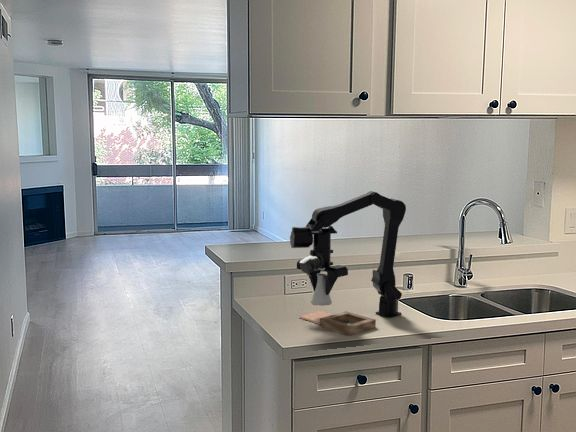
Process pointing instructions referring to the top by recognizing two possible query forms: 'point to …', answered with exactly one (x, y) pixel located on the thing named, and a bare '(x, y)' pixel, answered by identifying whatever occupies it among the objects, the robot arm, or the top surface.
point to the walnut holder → (335, 324)
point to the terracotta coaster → (315, 316)
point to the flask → (321, 292)
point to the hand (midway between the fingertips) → (321, 293)
